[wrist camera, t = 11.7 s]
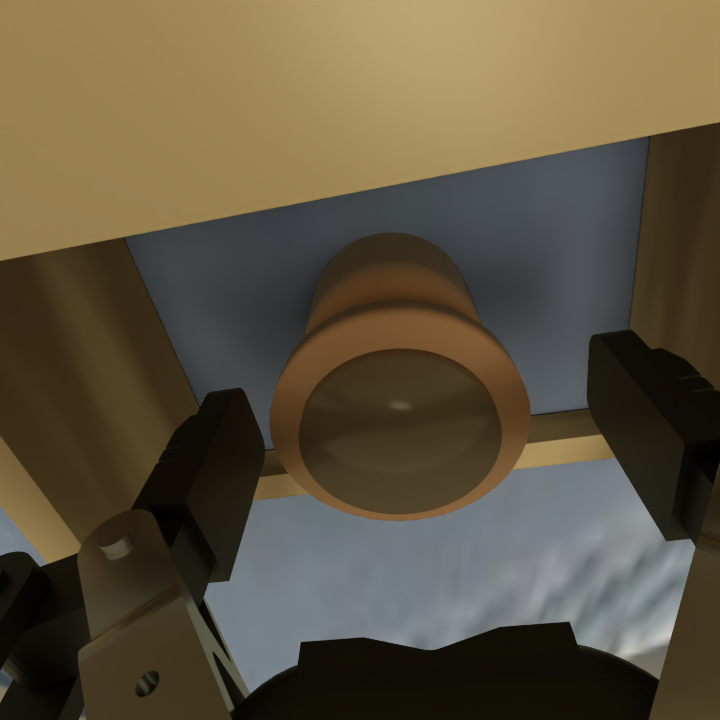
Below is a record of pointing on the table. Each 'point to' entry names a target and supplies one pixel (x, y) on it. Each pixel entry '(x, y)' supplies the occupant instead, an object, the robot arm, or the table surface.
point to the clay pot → (397, 388)
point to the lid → (316, 99)
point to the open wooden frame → (177, 402)
